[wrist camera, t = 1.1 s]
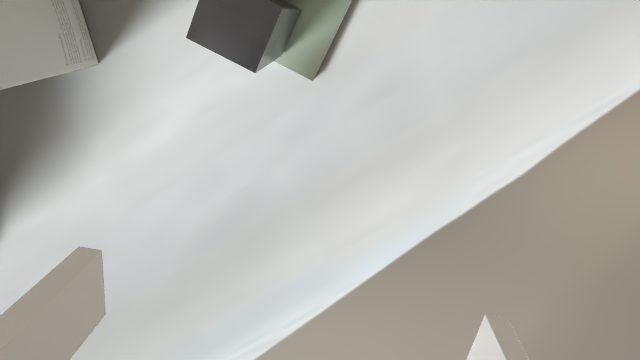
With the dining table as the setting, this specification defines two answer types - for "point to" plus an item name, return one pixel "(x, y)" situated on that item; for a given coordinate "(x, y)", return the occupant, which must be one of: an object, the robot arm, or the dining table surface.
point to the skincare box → (42, 40)
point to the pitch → (312, 34)
